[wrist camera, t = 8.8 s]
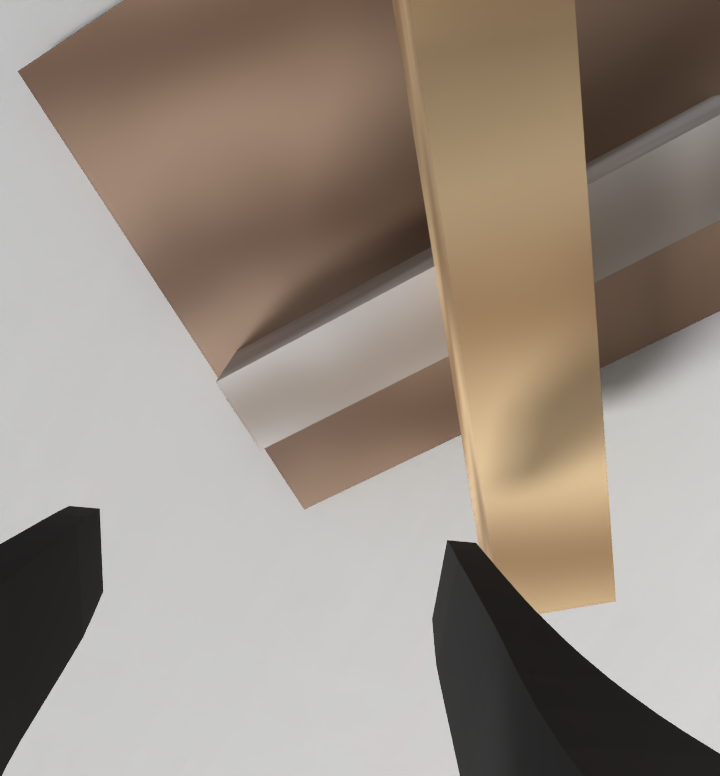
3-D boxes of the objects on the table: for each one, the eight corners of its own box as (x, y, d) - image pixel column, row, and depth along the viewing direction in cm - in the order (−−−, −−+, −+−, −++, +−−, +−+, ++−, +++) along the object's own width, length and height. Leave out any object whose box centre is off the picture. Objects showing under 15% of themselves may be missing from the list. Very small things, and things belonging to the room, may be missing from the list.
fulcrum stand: (36, 76, 18) (-51, 50, 14) (613, -306, 15) (701, -468, 11) (306, 495, 22) (296, 560, 19) (779, 267, 20) (879, 289, 16)
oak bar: (575, 535, 18) (615, 600, 16) (480, 552, 19) (502, 620, 16) (519, -75, 13) (565, -144, 10) (385, -43, 13) (393, -101, 10)
